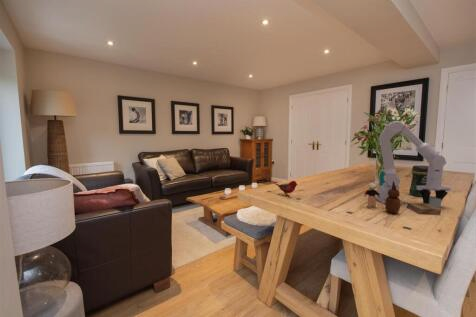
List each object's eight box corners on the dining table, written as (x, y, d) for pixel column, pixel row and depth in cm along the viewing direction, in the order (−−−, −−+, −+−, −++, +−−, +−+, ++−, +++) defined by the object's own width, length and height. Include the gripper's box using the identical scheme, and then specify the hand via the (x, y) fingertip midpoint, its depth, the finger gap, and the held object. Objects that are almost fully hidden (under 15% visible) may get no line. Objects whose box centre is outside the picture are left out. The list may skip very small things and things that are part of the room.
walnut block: (418, 214, 103) (419, 208, 102) (407, 208, 112) (407, 202, 111) (440, 215, 101) (441, 209, 101) (426, 209, 110) (427, 203, 110)
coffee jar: (415, 197, 130) (418, 166, 128) (406, 193, 138) (409, 164, 136) (433, 197, 129) (436, 166, 127) (422, 193, 137) (426, 164, 135)
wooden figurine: (385, 209, 109) (388, 179, 107) (399, 211, 105) (402, 181, 104) (383, 212, 104) (386, 181, 102) (398, 215, 100) (401, 183, 99)
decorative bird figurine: (295, 198, 125) (296, 181, 124) (271, 192, 139) (272, 177, 137) (298, 197, 127) (299, 181, 126) (274, 191, 140) (275, 176, 139)
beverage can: (391, 195, 133) (393, 171, 131) (381, 195, 134) (383, 170, 132) (387, 193, 139) (389, 169, 137) (377, 192, 140) (379, 169, 138)
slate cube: (429, 208, 111) (430, 198, 110) (422, 205, 116) (423, 195, 115) (440, 208, 110) (441, 199, 110) (433, 205, 115) (434, 196, 115)
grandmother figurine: (375, 206, 114) (377, 182, 112) (380, 208, 110) (382, 183, 108) (360, 206, 113) (362, 182, 112) (365, 208, 110) (367, 183, 108)
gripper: (424, 179, 108) (421, 205, 110) (457, 180, 106) (453, 207, 108) (414, 176, 115) (412, 201, 117) (445, 177, 113) (442, 202, 115)
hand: (431, 203), depth 113 cm, fingers open, 5 cm apart
